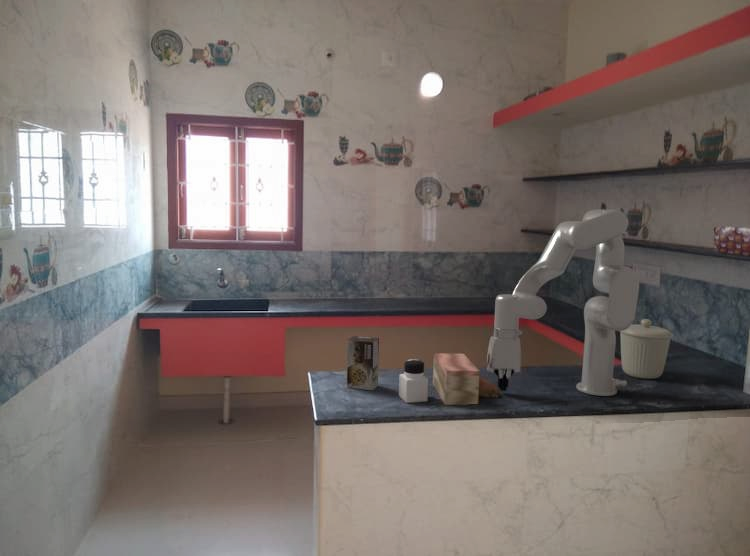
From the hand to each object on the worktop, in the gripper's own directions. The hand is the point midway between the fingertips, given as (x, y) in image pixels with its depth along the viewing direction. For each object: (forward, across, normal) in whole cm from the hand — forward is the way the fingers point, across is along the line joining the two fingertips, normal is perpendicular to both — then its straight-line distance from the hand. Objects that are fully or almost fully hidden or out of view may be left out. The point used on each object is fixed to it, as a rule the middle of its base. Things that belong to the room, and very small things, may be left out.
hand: (502, 389), depth 184 cm
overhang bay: (+2, +16, 0) cm, 16 cm away
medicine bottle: (+2, +30, +5) cm, 30 cm away
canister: (+2, -60, -23) cm, 64 cm away
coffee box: (+2, +45, -7) cm, 45 cm away
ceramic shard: (+2, +10, -2) cm, 11 cm away
